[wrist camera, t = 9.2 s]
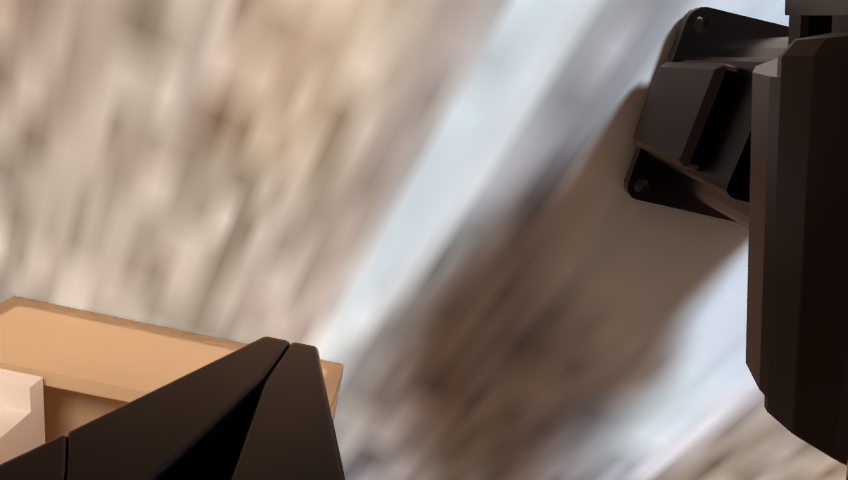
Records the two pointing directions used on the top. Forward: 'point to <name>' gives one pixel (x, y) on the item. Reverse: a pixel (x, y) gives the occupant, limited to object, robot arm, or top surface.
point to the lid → (20, 413)
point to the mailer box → (104, 359)
